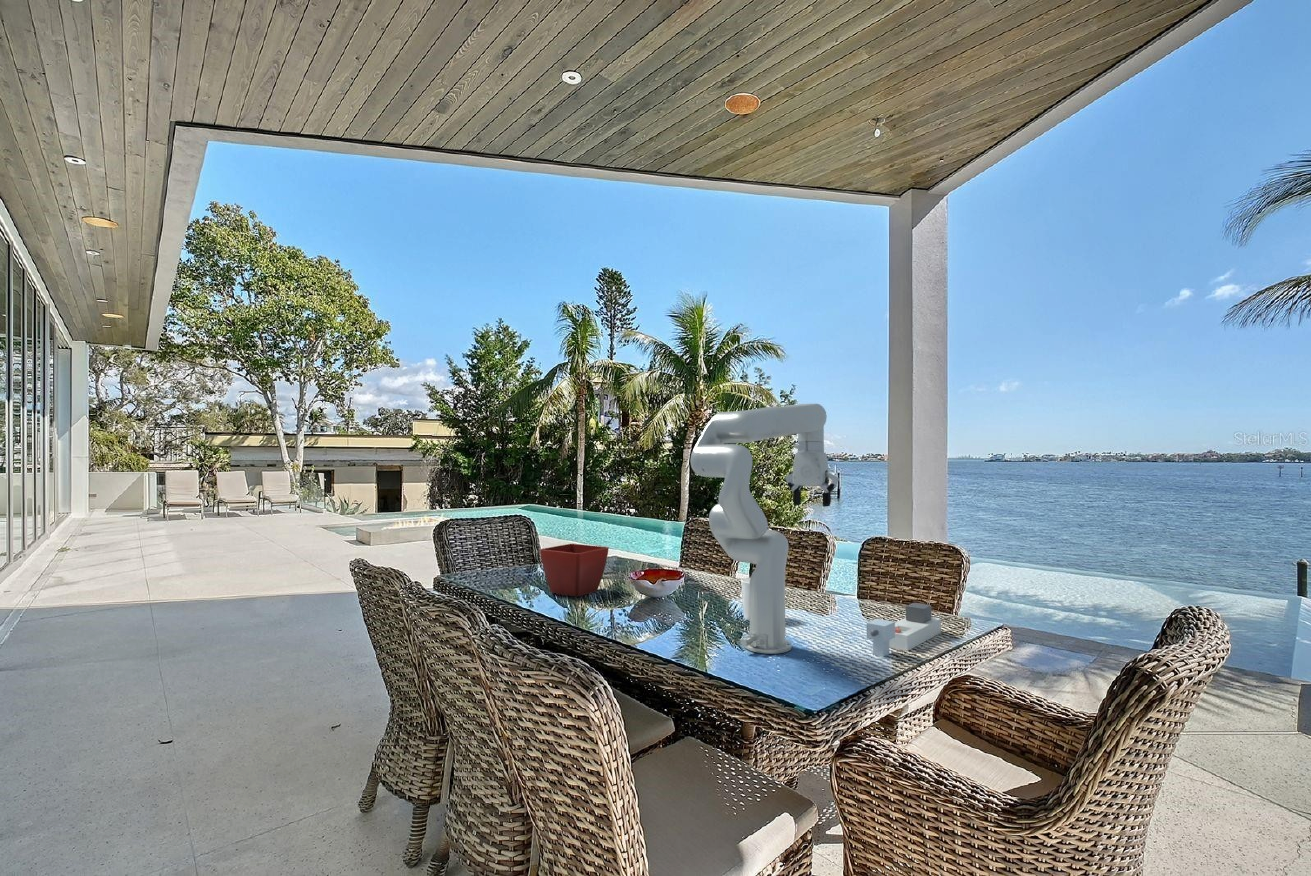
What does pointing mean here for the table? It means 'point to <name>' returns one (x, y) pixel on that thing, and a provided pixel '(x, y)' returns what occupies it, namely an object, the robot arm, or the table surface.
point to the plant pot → (574, 568)
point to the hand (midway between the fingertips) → (811, 505)
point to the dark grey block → (918, 612)
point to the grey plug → (880, 635)
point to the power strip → (914, 633)
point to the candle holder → (746, 598)
